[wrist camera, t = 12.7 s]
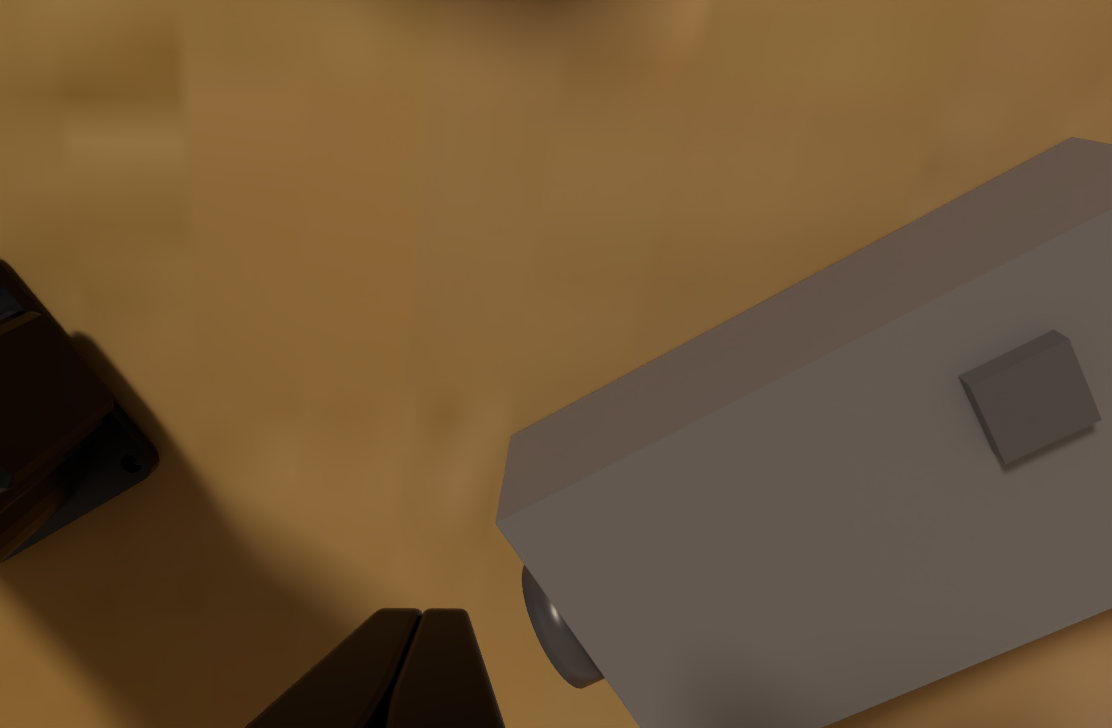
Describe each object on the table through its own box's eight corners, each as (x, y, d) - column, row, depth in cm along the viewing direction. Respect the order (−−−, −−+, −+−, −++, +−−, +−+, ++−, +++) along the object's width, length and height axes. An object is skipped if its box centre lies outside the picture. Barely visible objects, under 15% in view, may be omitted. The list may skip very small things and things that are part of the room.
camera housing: (635, 682, 23) (647, 824, 19) (476, 454, 21) (450, 558, 17) (1183, 438, 20) (1343, 542, 16) (1071, 137, 18) (1225, 166, 13)
